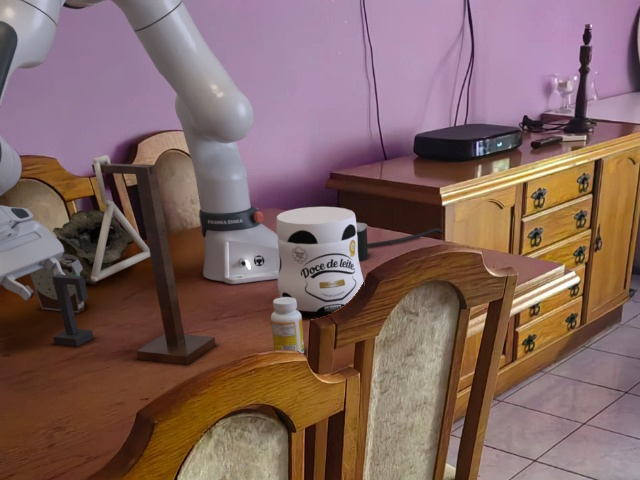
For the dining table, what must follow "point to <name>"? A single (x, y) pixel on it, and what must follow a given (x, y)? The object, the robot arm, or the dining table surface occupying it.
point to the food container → (46, 285)
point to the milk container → (318, 258)
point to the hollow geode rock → (91, 240)
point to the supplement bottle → (287, 325)
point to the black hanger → (70, 310)
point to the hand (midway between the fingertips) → (48, 289)
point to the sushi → (362, 241)
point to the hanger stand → (174, 341)
